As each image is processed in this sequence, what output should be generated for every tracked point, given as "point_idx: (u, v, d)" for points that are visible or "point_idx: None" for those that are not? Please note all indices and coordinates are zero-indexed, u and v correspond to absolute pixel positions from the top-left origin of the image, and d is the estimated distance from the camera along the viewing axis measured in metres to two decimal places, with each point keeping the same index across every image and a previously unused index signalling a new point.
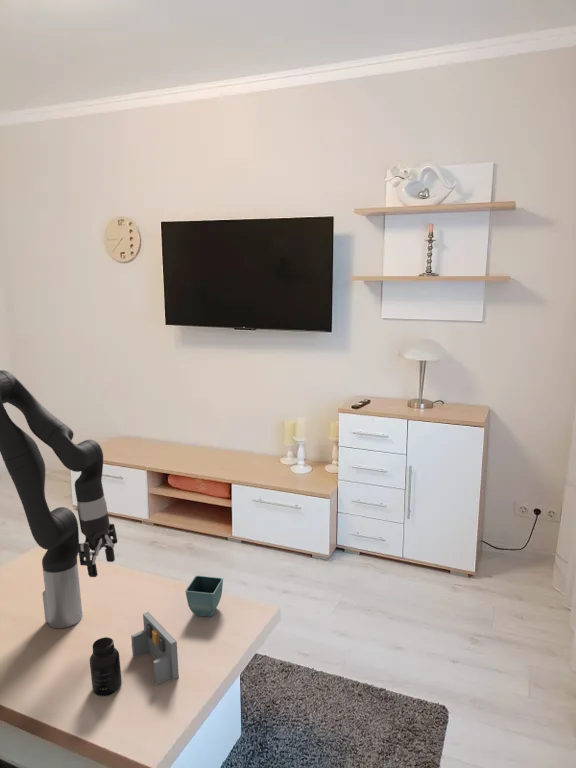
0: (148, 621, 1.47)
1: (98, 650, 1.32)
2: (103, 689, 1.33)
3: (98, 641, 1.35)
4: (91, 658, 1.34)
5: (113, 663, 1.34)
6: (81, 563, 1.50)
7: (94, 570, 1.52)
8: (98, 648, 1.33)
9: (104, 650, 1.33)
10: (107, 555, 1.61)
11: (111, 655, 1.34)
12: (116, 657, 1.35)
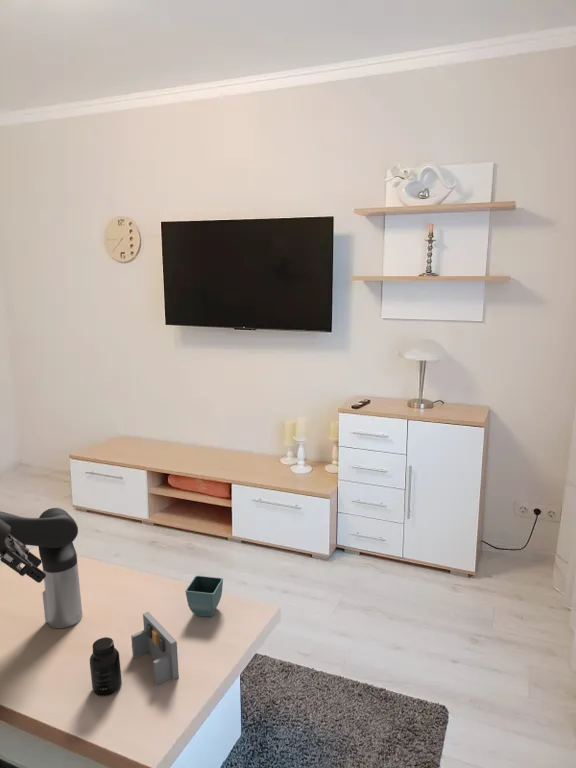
0: (148, 621, 1.47)
1: (98, 650, 1.32)
2: (103, 689, 1.33)
3: (98, 641, 1.35)
4: (91, 658, 1.34)
5: (113, 663, 1.34)
6: (21, 573, 1.18)
7: (39, 570, 1.21)
8: (98, 648, 1.33)
9: (104, 650, 1.33)
10: None
11: (111, 655, 1.34)
12: (116, 657, 1.35)
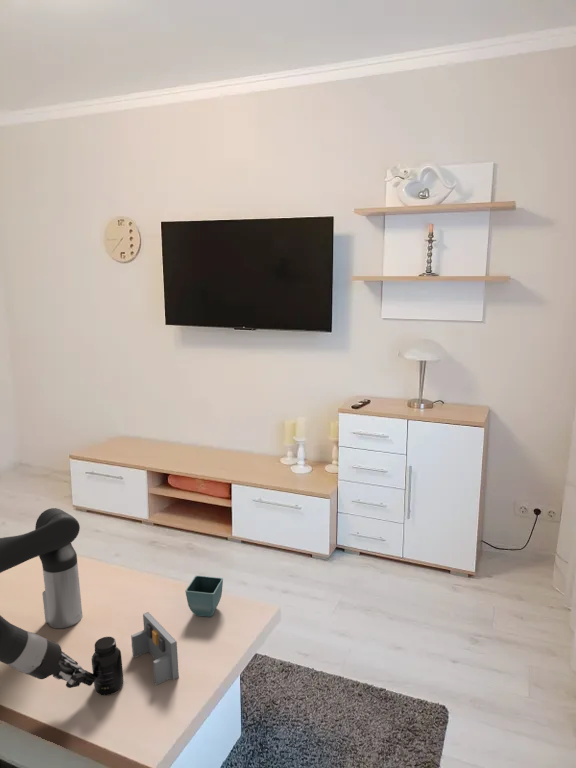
0: (148, 621, 1.47)
1: (100, 650, 1.33)
2: (105, 688, 1.34)
3: (100, 640, 1.36)
4: (93, 657, 1.34)
5: (115, 662, 1.34)
6: (79, 684, 1.28)
7: (89, 675, 1.32)
8: (100, 647, 1.33)
9: (106, 649, 1.33)
10: None
11: (113, 655, 1.34)
12: (118, 657, 1.35)
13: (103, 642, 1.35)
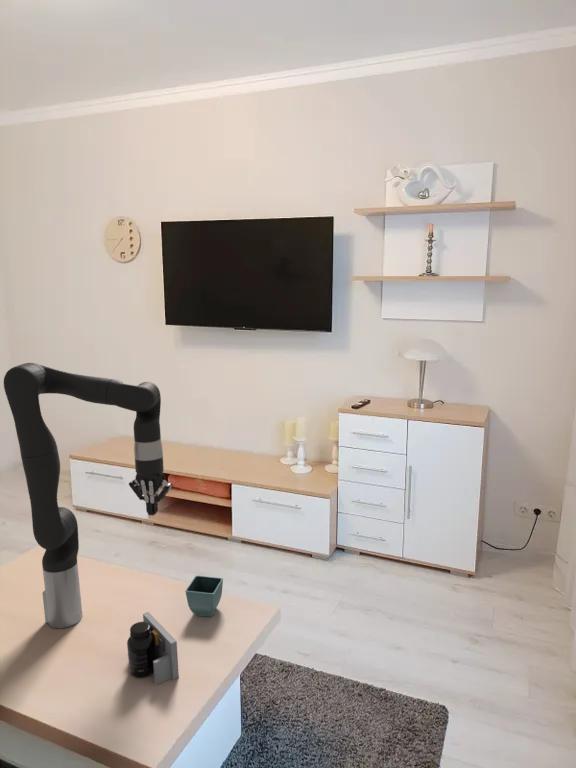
0: (148, 621, 1.47)
1: (136, 634, 1.38)
2: (140, 671, 1.39)
3: (135, 625, 1.41)
4: (129, 641, 1.40)
5: (149, 646, 1.39)
6: None
7: None
8: (135, 631, 1.39)
9: (141, 633, 1.39)
10: None
11: (147, 639, 1.40)
12: (152, 641, 1.40)
13: (138, 627, 1.41)
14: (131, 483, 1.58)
